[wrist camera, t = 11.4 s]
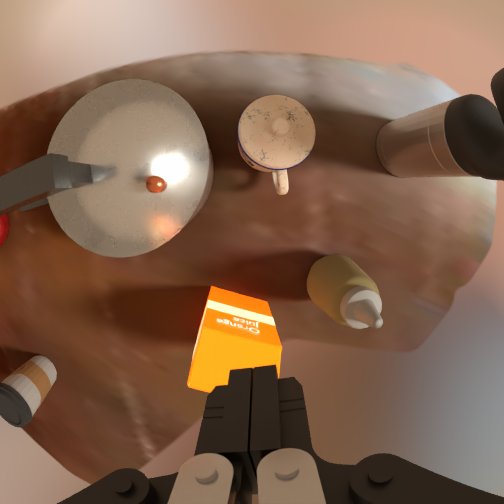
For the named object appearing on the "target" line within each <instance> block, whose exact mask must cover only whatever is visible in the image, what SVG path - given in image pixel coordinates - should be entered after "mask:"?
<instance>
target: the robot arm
mask: <svg viewBox="0 0 504 504" xmlns="http://www.w3.org/2000/svg"><path fill="white" fill-rule="evenodd" d="M491 90H492V94H493V97H494V100H495V103H496V106H497V108H498V109H497V108H496V106H494V104H493V103H491V102H490V101H489V100H488V99H486V98H484V97H482V96H480V95H473V94H469V95H465V96H461V97H458V98H456V99H453V100H450V101H447V102H444V103H441V104H439V105H436V106H433V107H430V108H427V109H424V110H421V111H419V112H416V113H413V114H410V115H408V116H405V117H402V118H399V119H397V120H394V121H391V122H389V123H387V124H385V125H384V126H383V127H382V128H381V130H380V131H379V133H378V136H377V140H376V150H377V154H378V157H379V160H380V162H381V164H382V165H383V167H384V168H385V169H386V170H387V171H388V172H389V173H391V174H392V175H395V176H397V177H402V178H405V177H482V178H485V179H490V180H503V181H504V68H503V69H501V70H500V71H499V72H497V73H496V74H495V75H494V76H493V78H492V81H491ZM252 494H258V495H259V504H504V497H501V496H498V495H494V494H491V493H488V492H485V491H482V490H479V489H476V488H473V487H470V486H467V485H465V484H462V483H460V482H457V481H454V480H452V479H449V478H447V477H444V476H442V475H439V474H436V473H434V472H432V471H429V470H427V469H425V468H422V467H420V466H418V465H416V464H413V463H411V462H409V461H407V460H405V459H402V458H400V457H398V456H396V455H392V454H386V453H383V454H374V455H371V456H369V457H366V458H364V459H363V460H361V461H360V462H359V463H358V464H356V465H342V464H333V463H329V462H327V461H324V460H323V459H321V458H320V457H319V456H317V455H316V453H315V452H314V450H313V448H312V443H311V437H310V431H309V425H308V418H307V412H306V406H305V401H304V394H303V389H302V386H301V384H300V383H299V382H298V381H297V380H296V379H295V378H294V377H290V378H283V379H279V378H278V372H277V367H276V364H274V365H266V366H258V367H254V369H253V368H252V367H250V368H241V369H231V370H230V372H229V378H228V385H217V386H215V387H214V389H213V390H212V391H211V392H210V394H209V395H208V396H207V401H206V405H205V410H204V414H203V419H202V423H201V428H200V432H199V437H198V441H197V446H196V450H195V454H194V457H192V458H190V459H188V460H187V461H186V462H185V463H184V464H183V465H182V467H181V468H180V470H179V472H177V473H174V474H171V475H167V476H161V477H156V478H149V479H148V478H147V477H146V476H145V475H144V474H143V473H142V472H140V471H138V470H136V469H131V468H124V469H119V470H116V471H114V472H112V473H110V474H109V475H107V476H105V477H104V478H102V479H100V480H99V481H97V482H95V483H94V484H92V485H90V486H88V487H87V488H85V489H83V490H81V491H80V492H78V493H76V494H74V495H72V496H71V497H69V498H67V499H65V500H63V501H61V502H59V503H57V504H252Z"/></svg>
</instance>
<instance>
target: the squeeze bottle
mask: <svg viewBox="0 0 504 504" xmlns="http://www.w3.org/2000/svg"><path fill="white" fill-rule="evenodd" d="M307 292H308V294H309V296H310V298H311V300H312V301H313V302H314V303H315V304H316V305H317V306H319V307H320V308H321V309H322V310H323V311H324V312H326V313H327V314H328V315H329V316H330V317H331V318H332V319H334V320H335V321H336V322H338V323H339V324H340V325H342V326H347V327H353V328H357V329H361V328H366V327H368V326H371V327H373V328H379V327H381V326H382V324H383V320H382V318H381V316H380V312H381V310H382V302H381V299H380V296H379V291H378V288H377V286H376V284H375V282H374V281H373V280H372V279H371V278H370V277H369V276H368V275H367V274H366V273H365V272H364V271H362V270H361V269H360V268H359V267H358V266H357V265H356V264H355V263H354V262H353V261H352V260H351V259H350V258H349V257H346V256H343V255H340V254H335V255H327V256H325V257H323V258H321V259H319V260H317V261H316V262H315V263H314V264H313V265H312V267H311V268H310V272H309V275H308V278H307Z"/></svg>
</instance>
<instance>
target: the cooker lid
mask: <svg viewBox="0 0 504 504" xmlns="http://www.w3.org/2000/svg"><path fill="white" fill-rule="evenodd" d="M209 168H210V155H209V147H208V142H207V138H206V134H205V131H204V129H203V127H202V124H201V122H200V120H199V118H198V116H197V115H196V113H195V111H194V110H193V109H192V107H191V106H190V105H189V104H188V102H187V101H186V100H185V99H184V98H182V97H181V96H180V95H179V94H178V93H176V92H175V91H173V90H172V89H170V88H169V87H166V86H164V85H162V84H160V83H157V82H153V81H150V80H143V79H125V80H118V81H114V82H111V83H107V84H105V85H103V86H100V87H98V88H96V89H94V90H93V91H91V92H89V93H88V94H86V95H85V96H84V97H82V98H81V99H80V100H78V101H77V102H76V103H75V104H74V105H73V106H72V107H71V108H70V109H69V111H68V112H67V113H66V114H65V116H64V117H63V118H62V120H61V121H60V123H59V125H58V126H57V128H56V130H55V132H54V134H53V136H52V139H51V142H50V144H49V148H48V152H47V155H44V156H42V157H40V158H38V159H36V160H33V161H31V162H29V163H27V164H25V165H23V166H21V167H19V168H17V169H15V170H13V171H11V172H9V173H7V174H5V175H3V176H1V177H0V216H2V215H4V214H7V213H9V212H11V211H14V210H16V209H18V208H21V207H23V206H26V205H28V204H31V203H33V202H36V201H38V200H41V199H43V198H46V197H47V199H48V202H49V205H50V208H51V211H52V213H53V215H54V217H55V219H56V220H57V222H58V224H59V225H60V226H61V228H62V229H63V230H64V232H65V233H66V234H67V235H68V236H69V237H70V238H71V239H72V240H74V241H75V242H76V243H77V244H79V245H80V246H82V247H83V248H85V249H87V250H89V251H91V252H94V253H97V254H100V255H103V256H109V257H130V256H137V255H140V254H143V253H147V252H149V251H151V250H153V249H156V248H158V247H159V246H161V245H162V244H164V243H166V242H167V241H169V240H170V239H171V238H172V237H173V236H175V235H176V234H177V233H178V232H179V231H180V230H181V229H182V228H183V227H184V226H185V225H186V224H187V223H188V222H189V220H190V219H191V217H192V216H193V215H194V213H195V211H196V210H197V208H198V206H199V204H200V202H201V200H202V197H203V195H204V192H205V189H206V185H207V182H208V176H209Z"/></svg>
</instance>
